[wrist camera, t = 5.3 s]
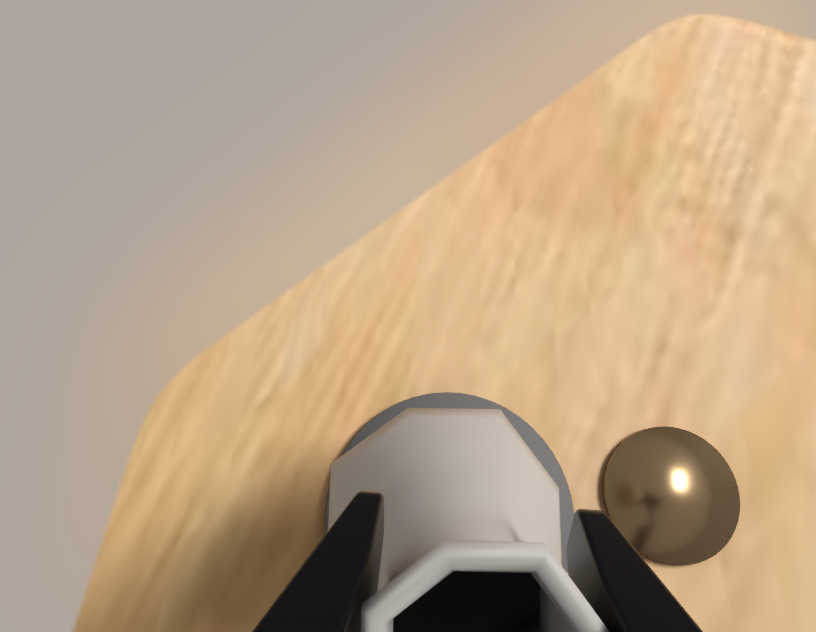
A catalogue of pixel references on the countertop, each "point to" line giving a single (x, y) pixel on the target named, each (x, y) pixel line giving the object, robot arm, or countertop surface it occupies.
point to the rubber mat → (521, 426)
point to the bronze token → (671, 495)
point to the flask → (462, 527)
